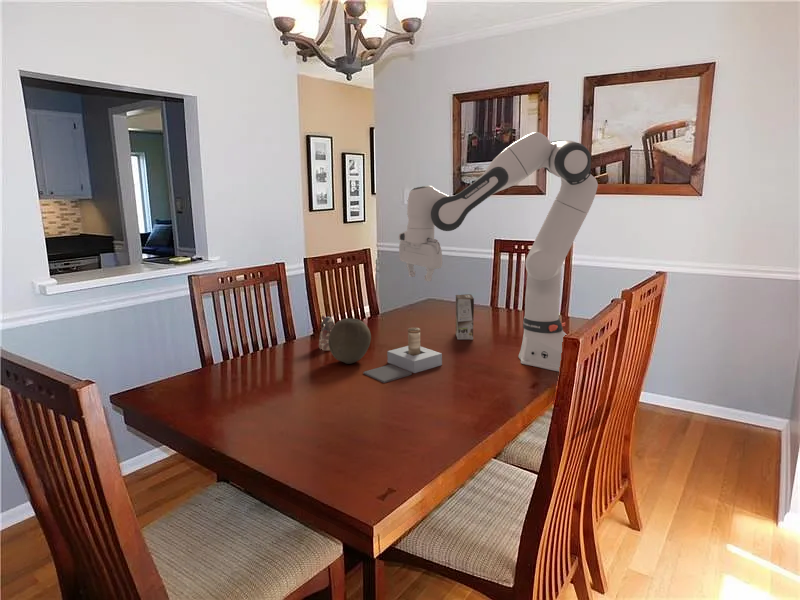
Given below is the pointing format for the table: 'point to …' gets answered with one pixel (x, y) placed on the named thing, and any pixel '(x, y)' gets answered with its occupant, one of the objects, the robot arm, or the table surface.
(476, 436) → the table surface
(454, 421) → the table surface
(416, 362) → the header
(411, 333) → the peg
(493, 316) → the table surface
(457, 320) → the coffee box
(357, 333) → the cantaloupe
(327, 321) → the figurine
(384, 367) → the mat
